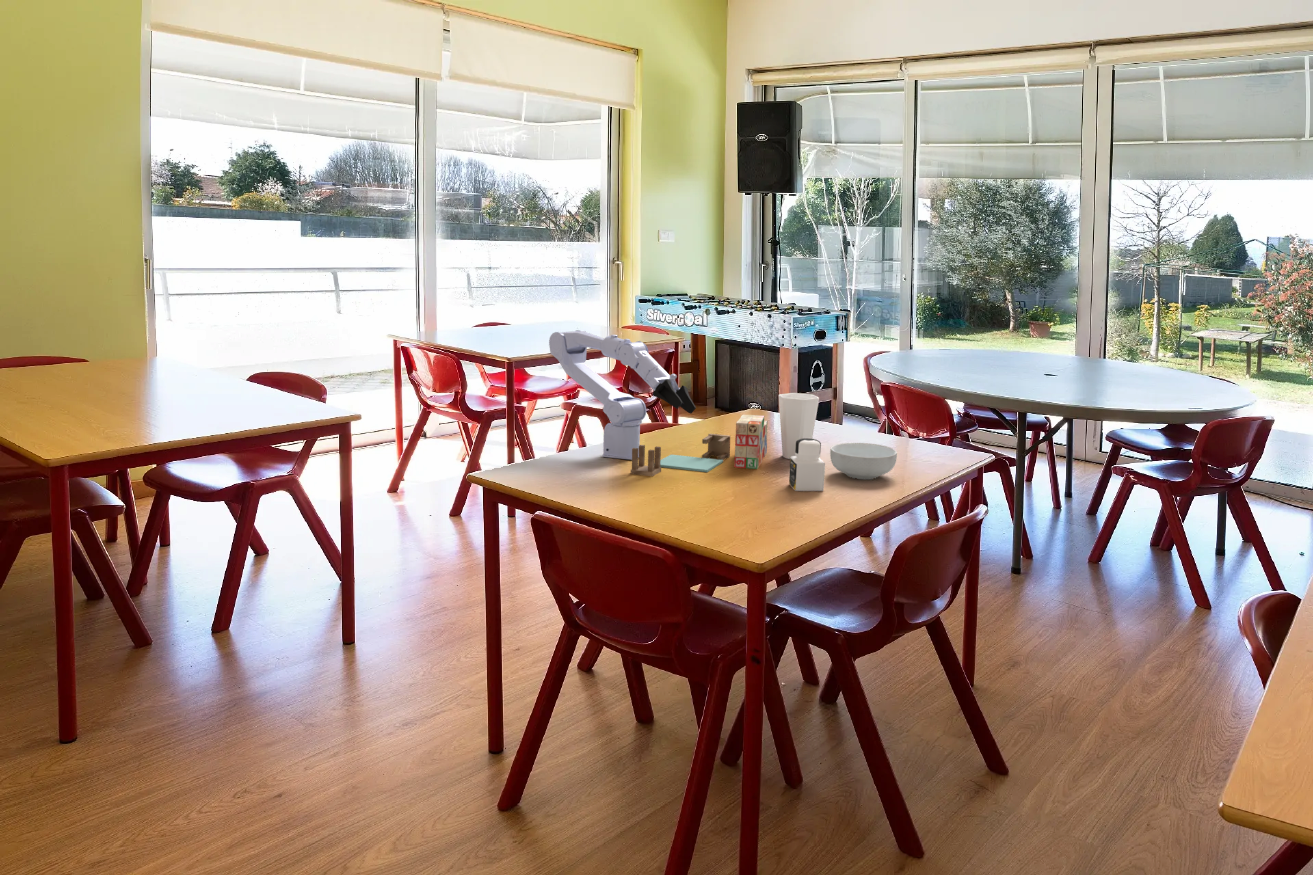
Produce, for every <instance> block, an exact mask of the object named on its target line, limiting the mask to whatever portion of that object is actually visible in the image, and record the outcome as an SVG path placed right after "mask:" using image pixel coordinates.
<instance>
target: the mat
mask: <svg viewBox="0 0 1313 875" xmlns="http://www.w3.org/2000/svg"><path fill="white" fill-rule="evenodd" d="M723 463H724V460H718V459H717V458H702V457H698V456H691V455H690V456H688V455H680V454H679V455H678V454H669V455H667V456H666V457H663V458H661V461H660V467H661V468H666V469H676V470H684V471H692V472H693V471H694V472H700V473H701V472H703V473H709V472H710V471H712V470H714V469H715V468H716V467H718V466H720V465H721V464H723Z"/></svg>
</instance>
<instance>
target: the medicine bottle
mask: <svg viewBox="0 0 1313 875" xmlns="http://www.w3.org/2000/svg"><path fill="white" fill-rule="evenodd" d="M821 447H822V443H821V441H820V440H817V439H816V438H812V439H810V438H803V439H799V440H797V441H796V449H795V456H791V457H790V459H789V474H788V475H789V476H788V480H789V481H788V484H789V485H790V487H791V488H792V489H793V490H794V491H795V492H823V491H824V489H825V474H826V472H825V470H826V468H825V467H826V462H824V460H823V459H822V458H820V457H821V452H822V451H821V449H822V448H821Z"/></svg>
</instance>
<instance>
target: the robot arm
mask: <svg viewBox="0 0 1313 875" xmlns="http://www.w3.org/2000/svg"><path fill="white" fill-rule="evenodd" d="M548 346H549V352H550V355H552V356H553V357H554V358H555V359H556V360H557V361H558V362H559V365H561V368H562V370H563V371H564V372H565V373H566V375H567V376H569V377H570V378H571V379H572V380H573V381H574V382H576V383H577V384H578V385H580V387H582V388H583V389H584V390H585V391H587V392H588V393H589V394H590V395H592V396H593V397H594V398H595V399H596V400H598V401H599V402H600V403H601V404H602V405H603V408H602V412H604V414H605V415H606V416H607V418H608V419H609V422H608V423H607V424H606V425H605V426H604V431H603V447H602V448H603V449H602V450H603V451H602V452H603V454H602V455H601V456H602V457H603V458H604V457H605V458H610V459H611V458H612V459H618V460H619V459H620V460H621V459H622V460H627V461H628V460H631V461H632V449H633V448H638V459H639V445H641V444H640V442H641V440H640V437H641V435H640V432H641V424H642V423H643V420H644V419H645V417H646V416H647V407H646V403H645V402H644V400H643V399H641V398H638V397H634V396H633V395H631V394H629V393H625V392H621V391H620V390H618V389H617V388H615V387H614V385H612V384H611V383H610V382H608V381H607V380H606V379H604V378H603V377H602V376H600V374H598V373H597V372H596V371H594V370H593V369H592V368H591V367H590V366H588V365H587V364H586V363H585V362H586V361H587V350H588V349H587V348H589V349H594V350H598V351H601V353H602V355H603V356H604V357H607V358H610V359H614V360H617V361H620V363H621V364H622V365H624V366H629V367H630V369H632V370H634V371H635V372H636V373H637V374H638V376H639V377H640V378H642V380H643V381H644V382H645V383H646V384H647V385H648V386H649V387H650V388H651V389H652V390H653V392H652V397H655V398H658V399H660V400H662V401H665V402H666V403H667V404H668V405H670V406H671V407H673V408H675V409H679V408H681V409H683V410H684V411H685V412H687V413H688V414H693V413H694V411H695V410H696V409H697V407H696V405H695V404H694V401H693V400H692V399H691V396H690V393H689V389H688V387H687V386H686V385H681V387H679V385H678V383H677V381H676V379H677V377H678V376H677V374H675V373H672V374H669V373H668V372H667V371H666V370H665V369H664V367H662V366H661V364H659V363H658V361H657V360H656V359H655V358H653V356H652V355H651V354H649V349H648V346H647V345H646V343H644V342H642V341H641V340H637V341H634V342H632V341H631V339H629V338H619V337H618V334H610V335H608V336H606V337H601V336H598V335H595V334H592V333H590V332H588V331H586V330H579V329H578V330H574V331H573V330H572V331H562V332H561V331H560V332H559V331H555V332H552V334H550V336H549V340H548ZM602 457H601V458H602Z"/></svg>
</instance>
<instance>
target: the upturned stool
mask: <svg viewBox="0 0 1313 875" xmlns="http://www.w3.org/2000/svg"><path fill="white" fill-rule="evenodd" d="M661 450H662V446H655V447H654V449H648V452H647V465H645V460H646V457H645V456H646V455H645V452H646V445H645V444H640V445H639V458H638V448H633V449H632V460H631V469H630V475H637V476H648V477H654V476H655V475H657V474H659V473H661V472H662V467H660V461H661V460H662V457H661V455H662V454H661V453H662V452H661Z"/></svg>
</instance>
